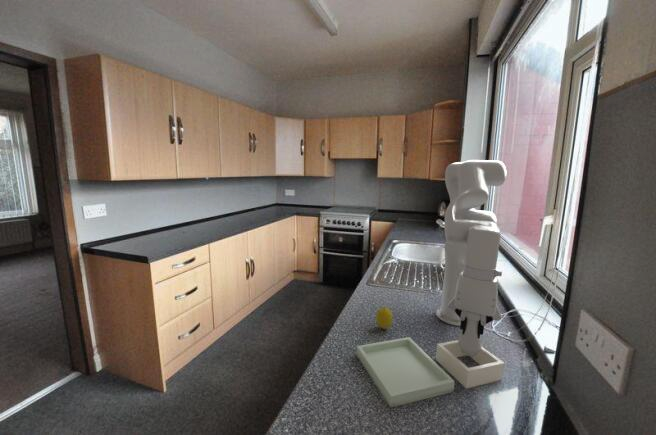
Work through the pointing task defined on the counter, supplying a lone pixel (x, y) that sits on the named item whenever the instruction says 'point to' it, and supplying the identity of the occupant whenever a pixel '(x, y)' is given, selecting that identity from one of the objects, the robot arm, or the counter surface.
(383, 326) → the lemon
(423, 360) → the tray
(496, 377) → the square frame
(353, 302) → the counter surface
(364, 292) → the counter surface
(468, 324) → the salt shaker
